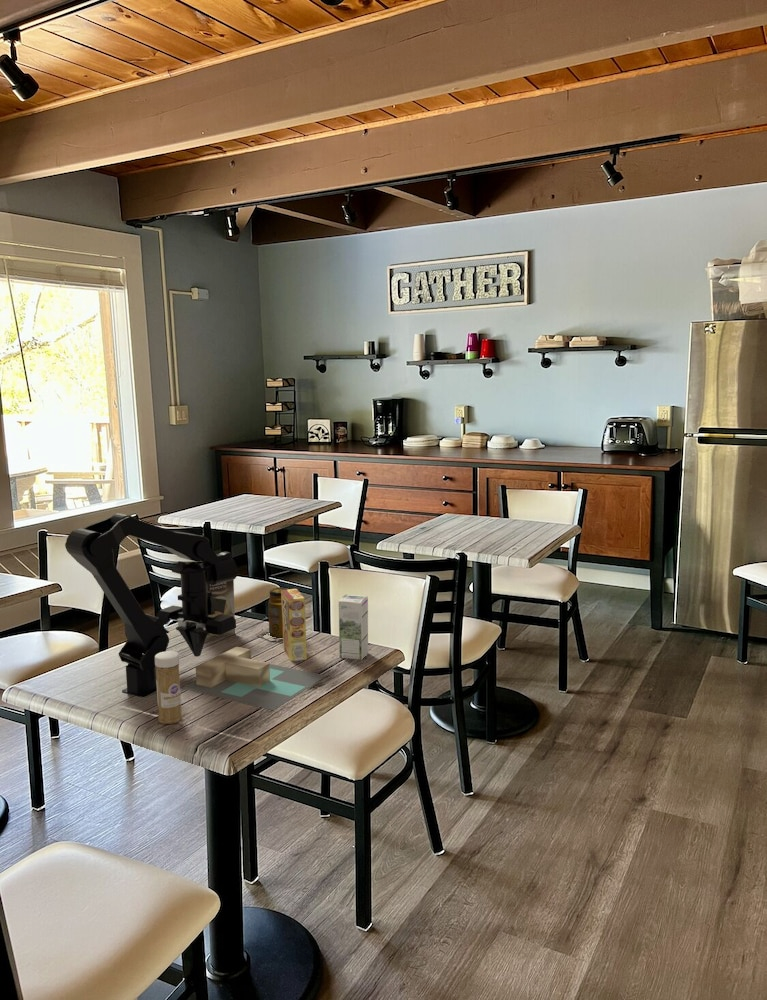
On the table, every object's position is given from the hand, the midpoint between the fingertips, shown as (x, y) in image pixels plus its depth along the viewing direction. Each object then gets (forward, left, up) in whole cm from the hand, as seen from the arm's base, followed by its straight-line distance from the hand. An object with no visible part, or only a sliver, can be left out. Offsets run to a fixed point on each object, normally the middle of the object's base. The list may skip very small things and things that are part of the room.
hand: (197, 655), depth 176 cm
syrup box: (+24, -27, -4) cm, 36 cm away
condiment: (+28, -2, -4) cm, 28 cm away
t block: (0, -12, -3) cm, 12 cm away
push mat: (0, -16, -4) cm, 16 cm away
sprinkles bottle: (-22, -12, -4) cm, 25 cm away
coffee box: (+21, +13, -4) cm, 25 cm away
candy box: (+18, -14, -4) cm, 23 cm away
